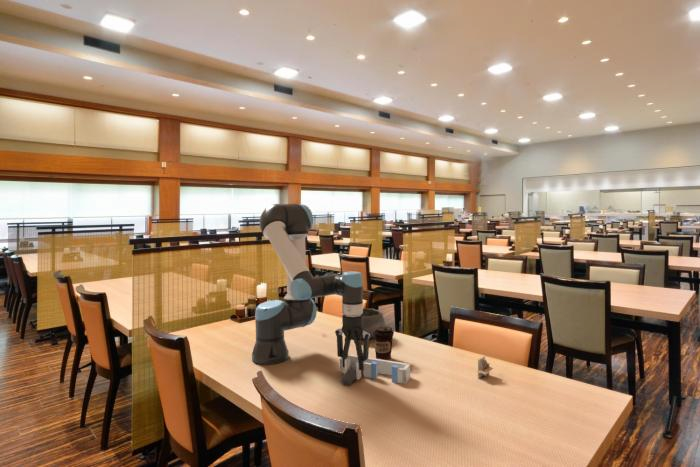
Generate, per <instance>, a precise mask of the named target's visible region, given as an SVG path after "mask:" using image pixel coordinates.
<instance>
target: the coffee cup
mask: <svg viewBox="0 0 700 467" xmlns="http://www.w3.org/2000/svg"><path fill="white" fill-rule="evenodd" d="M394 334H395V331H394V330H393V327H391V326H386V325H385V326H382V327H376V330H375V331H374V338H373V340H374V350H375V351H374V352H375V359H381V360H388V361H392V355H391V354H392V349H393V340H394Z"/></svg>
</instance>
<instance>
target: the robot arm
mask: <svg viewBox="0 0 700 467" xmlns="http://www.w3.org/2000/svg"><path fill="white" fill-rule="evenodd" d="M313 225H314V216H313V213H312V210H311V209H310V208H309V206H308V205H306V204H301V203H274V204H270V205H269V206H267V207H266V208H264V210H263V211H262V213H261V215H260V217H259V228H260V231H261V232H262V233H261V234H262V235H263V237H264V238H265V239H266V240H269V242H270V245H271V246H272V248H273V250H274V252H275V253H276V255H277V257H278V258H279V260H280V263H281V264H282V266H283V268H284V270H285V271H286V288H287V289H286V290H287V291H286V292H287V293H286V294H285V296H284V297H283V301H282V300H280V299H275V300H268V301H264V302H262V303H259V304H258V305H257V306H256V308H255V315H254V319H255V342H254V347H253V350H252V353H251V361H252V362H253V363H256V364H258V365H276V364H280V363H282V362H286V361H287V360H288V359H289V358H290V357H289V356H290V354H289V353H290V352H289V350H288V346H287V343H286V340H285V332H286V331H290V330H295V329H299V328H305V327H307V326H309V325H311V324H313V323H314V322H315V320H316V317H317V305H316V302H315V301H314V299H315V298H321V297H322V298H323V297H326V296H327V297H328V296H332V295H335V296H339V297H340V296H341V298H342V300H341V303H342V304H341V306H342V308H341V309H342V311H341V312H342V313H341V314H342V317H341V318H342V323H341V324H342V326H341V328H338V329H336V330H335V331H334V333H335V337H336V350H337V354H336V355H337V357H338V358H340V359H341V358H342V359H343V367H345V373H346V372H347V371H348V370H349V369H350V358H347V357H348V354H349V350H350V346H351V340H352V341H353V343H354V344H355V350H356V356H358V361H357V362H356V375H357V376H356V379H355V380H356V381H359V380H360V378H362V373H361V370H362V369H363V361H366V360H367V359H368V357H369V352H370V351H369V350H370V349H369V347H370V339H369V338H370V335H371V333H367V332H365V331H364V329H363V315H362V313H363V308H364V306H363V305H364V303H363V302H364V301H363V299H364V297H363V296H364V280H363V278H364V277H363V273H362V272H360V271H354V270H353V271H352V270H349V271H344V272H342V274H337V273H331V272H327V273H325V274H323V275H321V276H313V274H312V272H311V271H310V270H309V268H308V266H307V259H306V258H307V256H306V238H307V236H308V235H309V230H311V229H312V227H313ZM362 334H363V338H364V339H363V345H362V339H361V335H362ZM343 335H344V336H343ZM343 337H344V338H343ZM343 339H344V342H343ZM345 373H344V374H345Z"/></svg>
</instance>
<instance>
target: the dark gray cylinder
mask: <svg viewBox="0 0 700 467" xmlns="http://www.w3.org/2000/svg"><path fill="white" fill-rule="evenodd" d="M362 373H364V366H363V369H362V370H361V374H362ZM356 376H357V375H356V364H355V365H354V366H353V367H351V368H350V369H349V370H348V371H347V372H346V373H343V374H342V375H341V377H340V379H341V381H340V382H341V383H342V385H344V386H350V385H351V384H352V383H353V382H354V381H355V380H357V379H356Z"/></svg>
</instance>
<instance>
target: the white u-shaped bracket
mask: <svg viewBox="0 0 700 467" xmlns="http://www.w3.org/2000/svg"><path fill="white" fill-rule="evenodd" d="M347 358H350V368H351V367H353V366H354V365H355V364H356V362H357V361H358V356H357V354H356V355H355V354H349V353H348V357H347ZM363 366H364V371H363V377H364V378H369V379H370V378H371V379H374V380H377V379H378V376H379V375H378V374H382V375H387V376H391V383H397V384H404V385H407V382H408V381H409V380H410V378H411V364H410V363H405V362H400V361H393V360H389V361H388V360H381V359H376V357H375V358H374V357H369V356H368V359H367V360H366V361H363ZM339 372H340V373H343V374H345V367H343V359H342V358H341V357H340V359H339Z"/></svg>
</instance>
